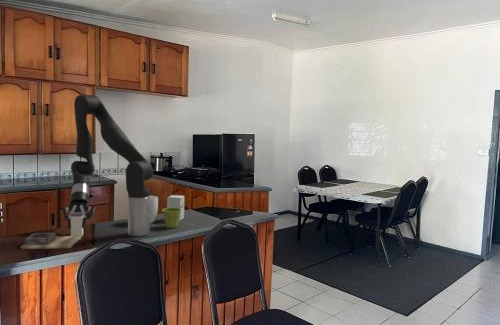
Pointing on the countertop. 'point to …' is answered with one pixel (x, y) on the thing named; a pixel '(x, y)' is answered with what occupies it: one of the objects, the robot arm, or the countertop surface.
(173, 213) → the plant pot
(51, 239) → the board
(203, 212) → the countertop surface
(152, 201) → the mug
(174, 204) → the supplement box
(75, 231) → the block
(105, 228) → the countertop surface
